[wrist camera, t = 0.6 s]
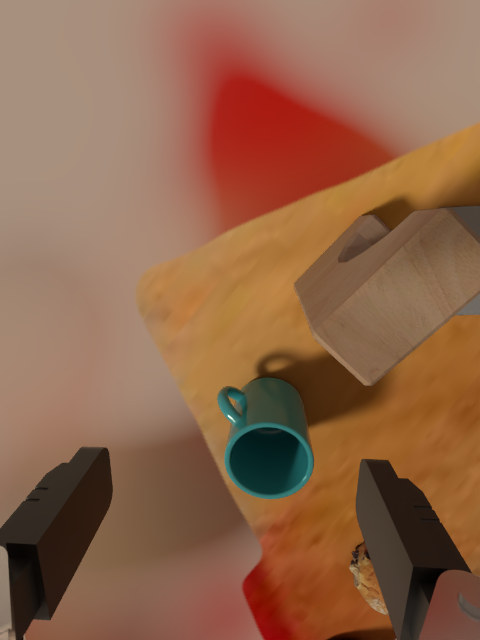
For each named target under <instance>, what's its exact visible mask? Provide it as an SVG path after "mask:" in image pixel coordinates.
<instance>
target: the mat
mask: <svg viewBox="0 0 480 640" xmlns="http://www.w3.org/2000/svg"><path fill="white" fill-rule="evenodd" d="M445 208H452V209H453V210H454V211H455V212H456V213H457V214H458V215H459V216H460V217H461V218H462V219H463V220H464V221H465V223H466V224H467V225H468V226H469V227H470V228H471V229H472V230H473V231H474V232H475V233H476V234H477V235H478V236H479V237H480V206H465V207H445ZM438 209H440V208H438ZM478 314H480V294H479V295H478V296H477V297H475V298H474V299H473V300H472V301H471V302H470V303H468V304H467V305H466V306H465V307H464V308H463V309H462V310H460V311H459V312H458V313H457V314H456V315H478Z"/></svg>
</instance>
